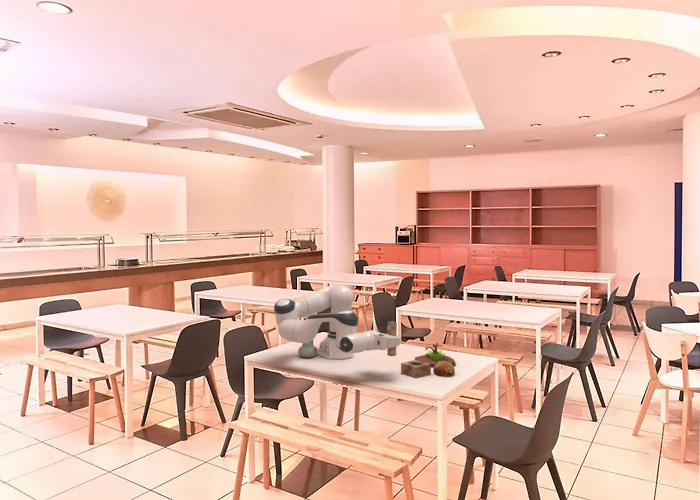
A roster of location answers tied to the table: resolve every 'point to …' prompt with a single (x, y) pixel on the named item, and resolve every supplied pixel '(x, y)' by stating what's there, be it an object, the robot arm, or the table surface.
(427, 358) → the plant
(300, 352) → the air freshener
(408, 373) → the square wooden socket base
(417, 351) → the table surface
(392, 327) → the upright wooden post
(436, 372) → the bread roll
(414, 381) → the table surface
